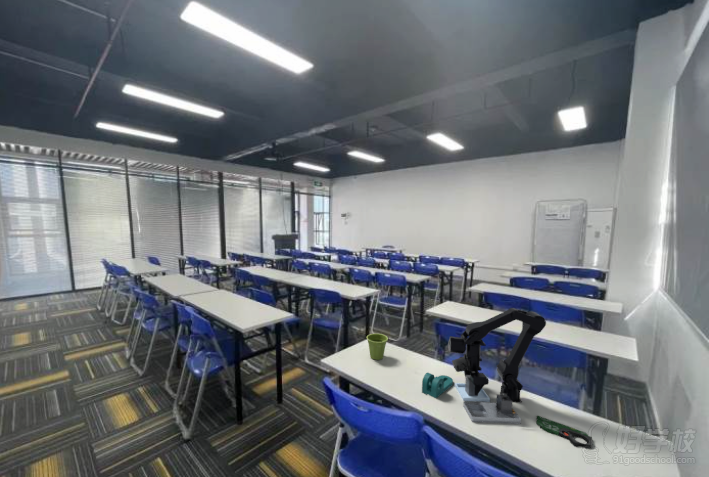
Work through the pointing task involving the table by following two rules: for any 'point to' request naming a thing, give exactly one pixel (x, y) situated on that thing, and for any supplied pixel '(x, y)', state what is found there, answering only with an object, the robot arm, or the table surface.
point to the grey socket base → (493, 411)
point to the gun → (564, 432)
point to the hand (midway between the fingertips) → (471, 388)
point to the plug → (469, 386)
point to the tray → (481, 396)
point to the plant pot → (377, 345)
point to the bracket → (435, 384)
